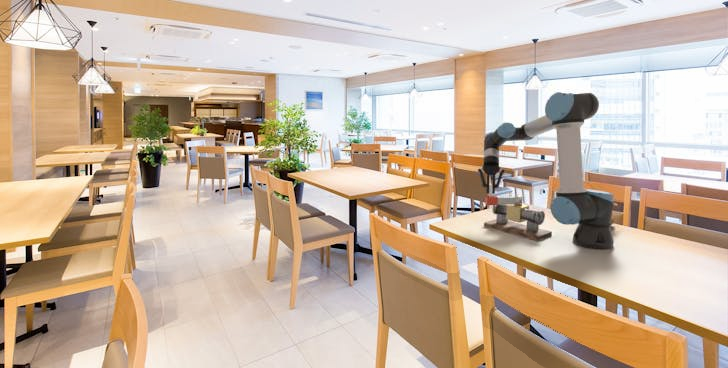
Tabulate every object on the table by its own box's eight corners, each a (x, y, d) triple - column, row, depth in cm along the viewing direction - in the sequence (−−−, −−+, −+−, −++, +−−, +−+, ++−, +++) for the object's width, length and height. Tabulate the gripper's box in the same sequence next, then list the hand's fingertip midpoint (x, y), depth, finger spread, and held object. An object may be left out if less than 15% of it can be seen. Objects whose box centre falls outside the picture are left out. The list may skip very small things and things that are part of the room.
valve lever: (520, 203, 185) (521, 195, 184) (523, 205, 182) (523, 197, 181) (484, 203, 186) (485, 195, 185) (487, 205, 182) (487, 197, 181)
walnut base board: (551, 235, 178) (551, 231, 178) (537, 241, 171) (537, 236, 171) (498, 222, 200) (498, 218, 200) (483, 226, 193) (484, 222, 193)
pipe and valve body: (543, 231, 178) (545, 209, 176) (535, 234, 174) (537, 211, 172) (499, 220, 197) (501, 200, 195) (491, 222, 193) (492, 202, 191)
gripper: (504, 164, 200) (504, 203, 187) (477, 163, 203) (476, 202, 191) (505, 155, 193) (505, 195, 181) (478, 154, 197) (476, 194, 185)
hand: (490, 198), depth 186 cm, fingers closed
